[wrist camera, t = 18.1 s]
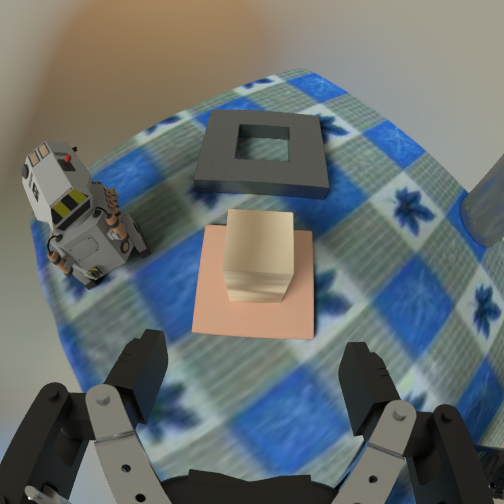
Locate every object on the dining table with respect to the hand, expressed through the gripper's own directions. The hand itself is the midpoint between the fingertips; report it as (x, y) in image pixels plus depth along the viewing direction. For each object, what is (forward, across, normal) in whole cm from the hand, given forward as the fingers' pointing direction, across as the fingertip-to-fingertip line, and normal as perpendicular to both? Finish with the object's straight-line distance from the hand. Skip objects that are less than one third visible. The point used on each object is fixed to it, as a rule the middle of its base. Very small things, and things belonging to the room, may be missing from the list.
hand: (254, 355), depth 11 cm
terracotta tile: (+17, 0, +5) cm, 18 cm away
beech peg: (+17, 0, +5) cm, 17 cm away
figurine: (+19, +18, +3) cm, 27 cm away
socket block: (+30, 0, -8) cm, 31 cm away
